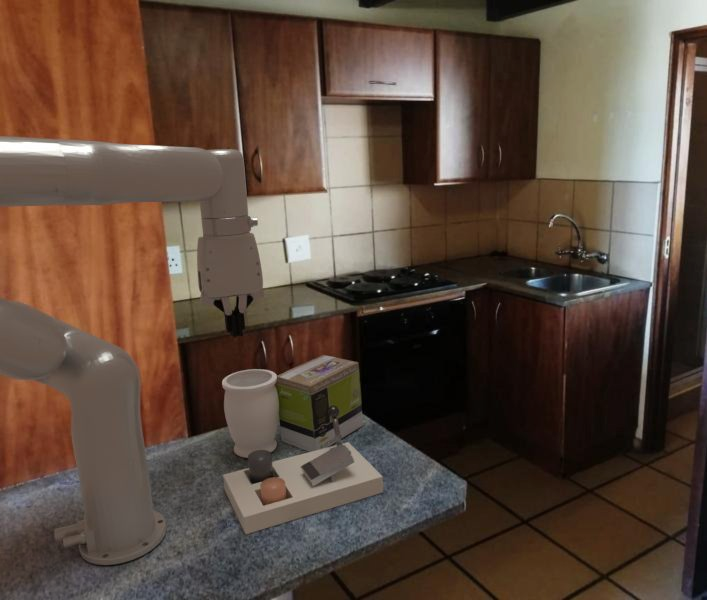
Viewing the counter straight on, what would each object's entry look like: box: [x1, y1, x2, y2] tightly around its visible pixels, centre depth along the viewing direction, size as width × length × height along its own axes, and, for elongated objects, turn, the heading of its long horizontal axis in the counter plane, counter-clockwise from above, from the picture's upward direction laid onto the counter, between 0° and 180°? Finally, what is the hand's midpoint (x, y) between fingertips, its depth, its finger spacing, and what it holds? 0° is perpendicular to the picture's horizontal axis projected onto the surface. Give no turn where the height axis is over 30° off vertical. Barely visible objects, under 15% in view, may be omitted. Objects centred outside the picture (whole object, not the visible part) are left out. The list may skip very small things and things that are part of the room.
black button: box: [247, 450, 273, 485], centre depth 101 cm, size 4×4×4 cm
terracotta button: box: [260, 477, 286, 506], centre depth 96 cm, size 4×4×4 cm
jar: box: [221, 368, 279, 459], centre depth 115 cm, size 11×10×15 cm
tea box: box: [275, 354, 364, 453], centre depth 120 cm, size 15×10×15 cm, turn 141°
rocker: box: [301, 444, 354, 486], centre depth 100 cm, size 8×5×1 cm, turn 115°
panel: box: [222, 441, 384, 535], centre depth 101 cm, size 24×14×4 cm, turn 115°
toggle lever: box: [328, 406, 343, 446], centre depth 108 cm, size 2×2×8 cm
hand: (236, 334), depth 100 cm, fingers closed
